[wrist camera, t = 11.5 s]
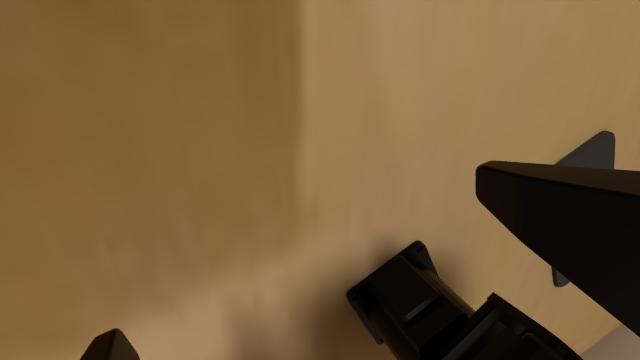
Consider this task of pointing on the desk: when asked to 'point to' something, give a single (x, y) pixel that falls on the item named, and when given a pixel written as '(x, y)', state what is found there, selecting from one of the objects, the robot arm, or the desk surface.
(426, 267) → the robot arm
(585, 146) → the phone
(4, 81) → the desk surface
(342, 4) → the desk surface
